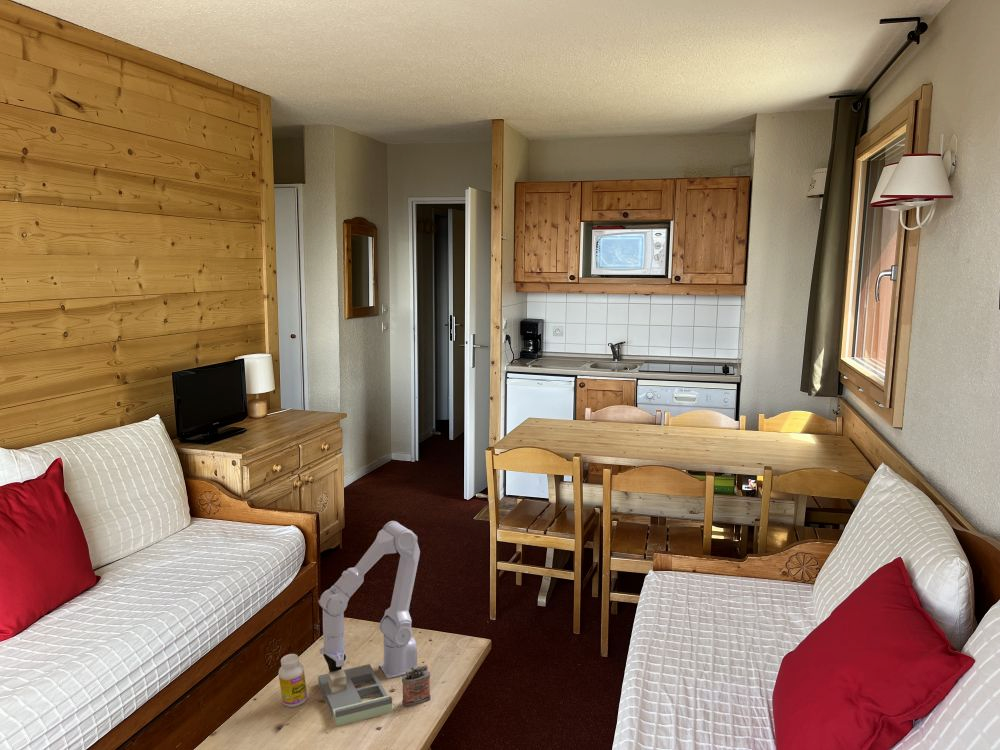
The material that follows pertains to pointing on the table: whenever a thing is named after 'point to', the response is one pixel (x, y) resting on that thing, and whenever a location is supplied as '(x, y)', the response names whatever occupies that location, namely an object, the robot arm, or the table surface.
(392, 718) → the table surface
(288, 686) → the supplement bottle
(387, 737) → the table surface
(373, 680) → the grey divided tray
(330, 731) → the table surface
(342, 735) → the table surface
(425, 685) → the ornate red tin
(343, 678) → the block
